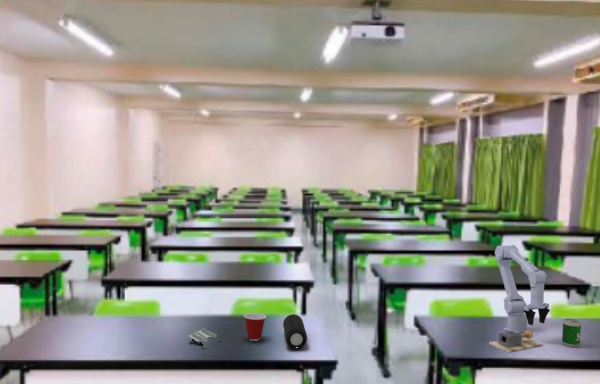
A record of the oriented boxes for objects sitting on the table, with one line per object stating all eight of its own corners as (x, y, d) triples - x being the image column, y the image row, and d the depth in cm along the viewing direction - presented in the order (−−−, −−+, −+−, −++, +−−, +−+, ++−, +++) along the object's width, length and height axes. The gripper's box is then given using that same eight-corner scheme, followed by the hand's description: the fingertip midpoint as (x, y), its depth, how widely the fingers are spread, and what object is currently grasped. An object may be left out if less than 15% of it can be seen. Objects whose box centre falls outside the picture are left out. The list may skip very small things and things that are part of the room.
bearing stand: (521, 337, 254) (522, 326, 254) (542, 345, 244) (543, 333, 243) (488, 343, 245) (489, 331, 244) (509, 352, 234) (509, 340, 234)
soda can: (573, 349, 240) (574, 323, 239) (558, 343, 246) (559, 319, 246) (583, 346, 243) (584, 321, 242) (568, 341, 250) (569, 317, 249)
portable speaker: (282, 332, 257) (282, 312, 256) (302, 332, 258) (302, 312, 257) (285, 351, 231) (285, 329, 231) (307, 351, 232) (308, 329, 232)
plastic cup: (270, 339, 246) (271, 315, 245) (253, 345, 238) (254, 320, 237) (255, 334, 253) (255, 310, 252) (238, 339, 245) (238, 314, 244)
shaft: (526, 336, 250) (526, 329, 249) (532, 339, 246) (532, 331, 246) (505, 340, 244) (506, 333, 243) (512, 343, 240) (512, 335, 240)
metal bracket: (184, 332, 237) (204, 323, 251) (181, 344, 238) (201, 334, 252) (209, 346, 231) (228, 336, 245) (206, 358, 232) (225, 347, 246)
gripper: (533, 299, 242) (532, 327, 243) (554, 296, 248) (553, 324, 249) (521, 295, 249) (520, 323, 249) (542, 293, 255) (541, 320, 255)
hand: (536, 323), depth 249 cm, fingers open, 7 cm apart
